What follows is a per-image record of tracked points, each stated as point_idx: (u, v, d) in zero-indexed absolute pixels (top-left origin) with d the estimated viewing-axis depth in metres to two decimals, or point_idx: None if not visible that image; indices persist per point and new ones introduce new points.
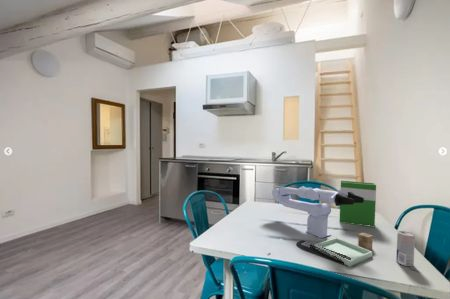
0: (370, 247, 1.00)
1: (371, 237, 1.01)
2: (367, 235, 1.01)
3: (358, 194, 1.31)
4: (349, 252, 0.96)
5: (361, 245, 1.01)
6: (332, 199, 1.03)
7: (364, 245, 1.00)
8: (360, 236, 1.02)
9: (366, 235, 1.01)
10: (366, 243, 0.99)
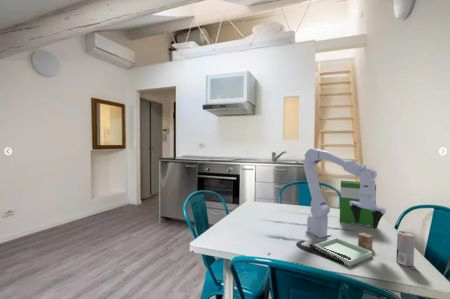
0: (370, 247, 1.00)
1: (371, 237, 1.01)
2: (367, 235, 1.01)
3: (358, 194, 1.31)
4: (349, 252, 0.96)
5: (361, 245, 1.01)
6: (384, 212, 0.95)
7: (364, 245, 1.00)
8: (360, 236, 1.02)
9: (366, 235, 1.01)
10: (366, 243, 1.00)
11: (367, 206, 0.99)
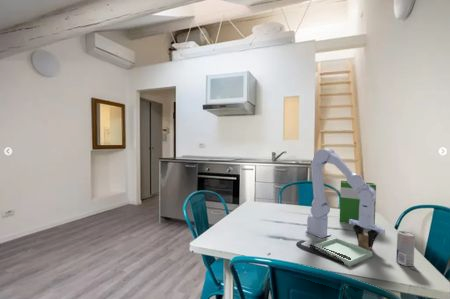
0: (370, 247, 1.00)
1: None
2: (367, 235, 1.01)
3: None
4: (349, 252, 0.96)
5: (361, 245, 1.01)
6: (383, 232, 0.96)
7: (364, 245, 1.00)
8: (360, 236, 1.02)
9: (366, 235, 1.01)
10: (366, 243, 0.99)
11: (366, 226, 0.99)
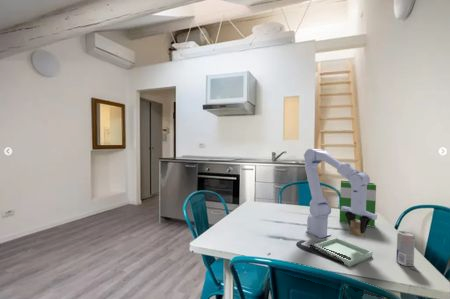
0: None
1: None
2: (359, 221, 0.99)
3: None
4: (349, 252, 0.96)
5: (353, 232, 0.99)
6: (376, 218, 0.93)
7: (356, 232, 0.98)
8: (352, 222, 0.99)
9: (358, 221, 0.99)
10: (358, 229, 0.97)
11: (358, 212, 0.97)
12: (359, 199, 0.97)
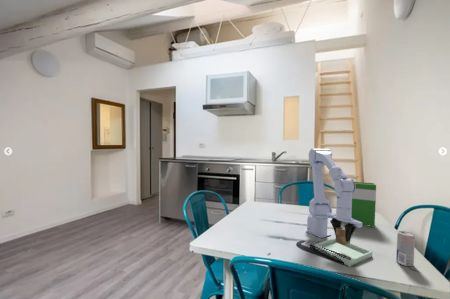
0: (348, 241, 0.95)
1: None
2: None
3: (358, 194, 1.31)
4: (349, 252, 0.96)
5: (338, 239, 0.96)
6: (361, 226, 0.90)
7: (341, 240, 0.95)
8: (337, 230, 0.96)
9: (344, 229, 0.96)
10: (343, 237, 0.94)
11: (343, 219, 0.93)
12: (341, 205, 0.94)
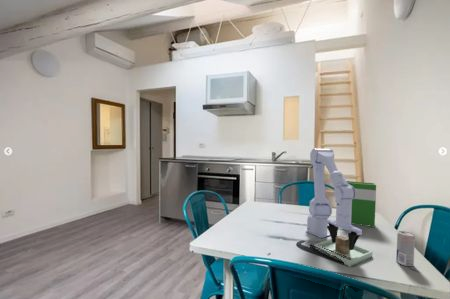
0: (347, 251, 0.95)
1: (348, 240, 0.95)
2: (344, 238, 0.96)
3: (358, 194, 1.31)
4: None
5: (338, 249, 0.96)
6: (360, 233, 0.90)
7: (341, 249, 0.95)
8: (337, 239, 0.96)
9: (343, 238, 0.96)
10: (343, 246, 0.94)
11: (343, 226, 0.94)
12: (340, 212, 0.94)
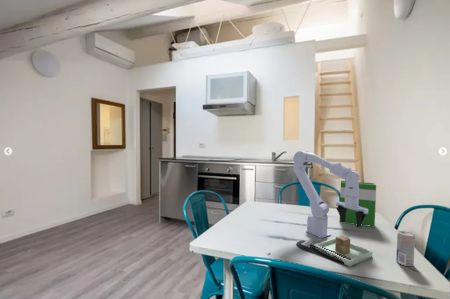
0: (347, 251, 0.95)
1: (348, 240, 0.95)
2: (344, 238, 0.96)
3: None
4: None
5: (338, 249, 0.96)
6: (367, 212, 1.01)
7: (341, 249, 0.95)
8: (337, 239, 0.96)
9: (343, 238, 0.96)
10: (343, 246, 0.94)
11: (351, 207, 1.05)
12: (354, 195, 1.04)
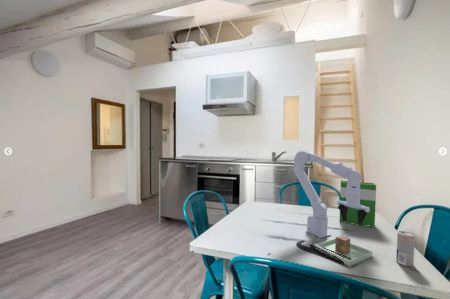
0: (347, 251, 0.95)
1: (348, 240, 0.95)
2: (344, 238, 0.96)
3: None
4: None
5: (338, 249, 0.96)
6: (368, 210, 1.04)
7: (341, 249, 0.95)
8: (337, 239, 0.96)
9: (343, 238, 0.96)
10: (343, 246, 0.94)
11: (353, 205, 1.07)
12: (357, 194, 1.07)
